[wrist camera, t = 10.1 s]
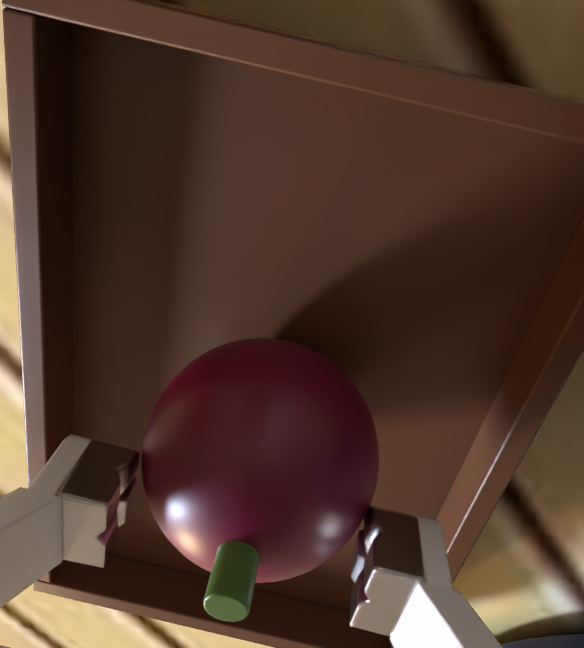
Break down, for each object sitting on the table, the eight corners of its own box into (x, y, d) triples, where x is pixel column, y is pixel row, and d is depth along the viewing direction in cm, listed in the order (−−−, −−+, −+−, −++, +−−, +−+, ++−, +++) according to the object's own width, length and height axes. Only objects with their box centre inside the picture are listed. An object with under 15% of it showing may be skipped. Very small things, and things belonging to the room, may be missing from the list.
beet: (191, 275, 13) (70, 468, 8) (403, 324, 13) (427, 551, 8) (174, 431, 16) (77, 652, 10) (349, 472, 16) (339, 712, 10)
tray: (59, -24, 11) (-2, -34, 9) (649, 116, 11) (707, 133, 9) (64, 537, 19) (33, 590, 17) (396, 616, 19) (400, 678, 17)
